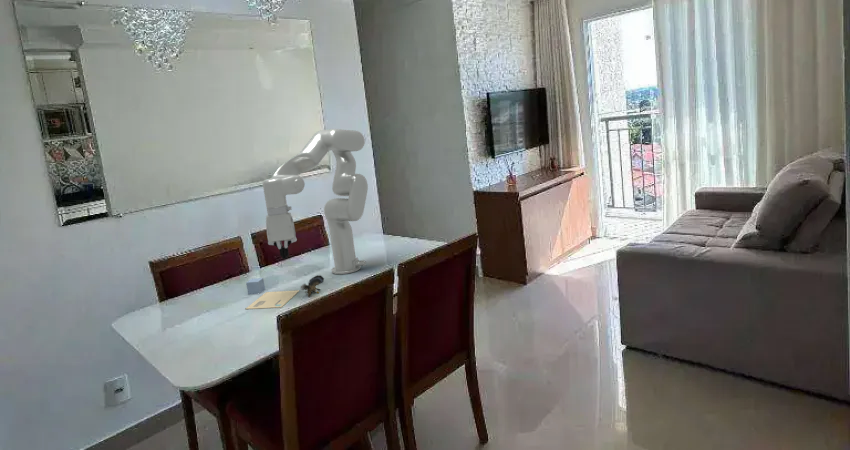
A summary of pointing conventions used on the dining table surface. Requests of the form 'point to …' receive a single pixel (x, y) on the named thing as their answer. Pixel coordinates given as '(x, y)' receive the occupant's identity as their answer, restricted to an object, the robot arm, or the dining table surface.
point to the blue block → (255, 286)
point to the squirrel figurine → (312, 284)
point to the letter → (273, 299)
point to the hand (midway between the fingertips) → (285, 257)
